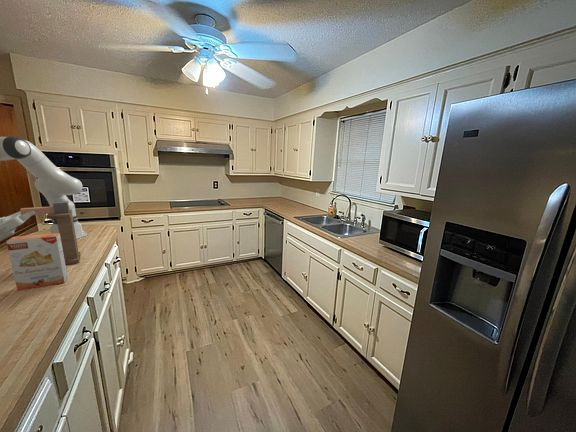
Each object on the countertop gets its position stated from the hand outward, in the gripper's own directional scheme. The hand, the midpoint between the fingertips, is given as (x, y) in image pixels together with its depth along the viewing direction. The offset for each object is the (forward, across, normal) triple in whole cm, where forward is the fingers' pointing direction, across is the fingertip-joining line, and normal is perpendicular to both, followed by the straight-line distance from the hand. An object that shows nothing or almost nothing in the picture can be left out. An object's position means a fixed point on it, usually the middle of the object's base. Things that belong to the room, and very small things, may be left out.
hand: (36, 210), depth 112 cm
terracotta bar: (+3, 0, +4) cm, 5 cm away
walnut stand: (-7, 0, +27) cm, 28 cm away
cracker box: (-12, -25, +25) cm, 37 cm away
